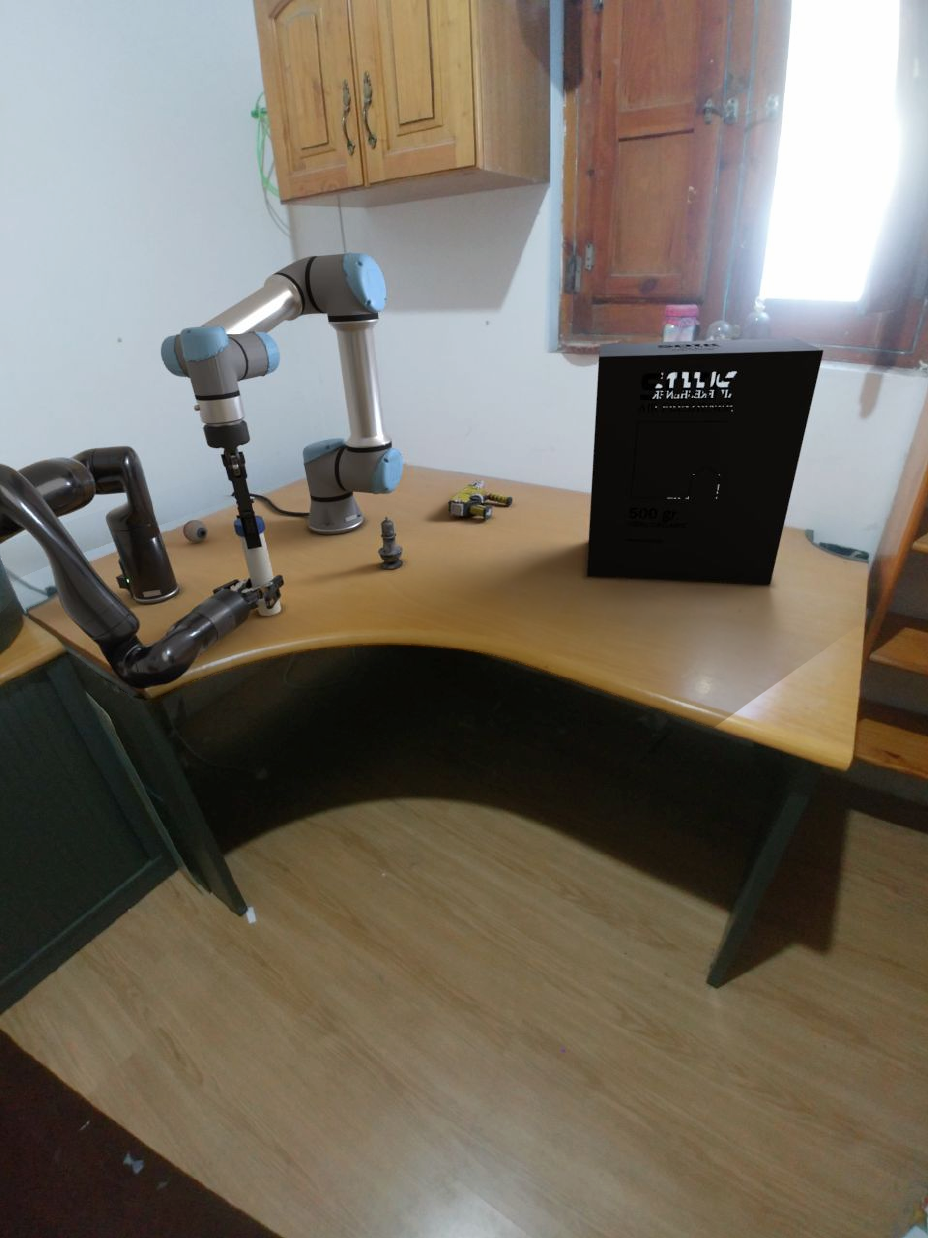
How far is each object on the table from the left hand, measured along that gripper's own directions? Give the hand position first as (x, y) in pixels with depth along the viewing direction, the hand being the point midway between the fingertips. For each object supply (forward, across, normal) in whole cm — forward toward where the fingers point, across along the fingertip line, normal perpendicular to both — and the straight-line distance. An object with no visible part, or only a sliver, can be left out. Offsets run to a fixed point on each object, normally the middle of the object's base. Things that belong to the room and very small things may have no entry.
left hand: (270, 577), depth 126 cm
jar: (-3, 0, +6) cm, 7 cm away
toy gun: (+67, -26, +6) cm, 72 cm away
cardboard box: (+41, -79, +6) cm, 89 cm away
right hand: (-3, 0, -9) cm, 10 cm away
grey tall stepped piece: (+25, -16, +6) cm, 30 cm away
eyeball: (+26, +43, +6) cm, 50 cm away
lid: (-3, 0, -13) cm, 14 cm away
